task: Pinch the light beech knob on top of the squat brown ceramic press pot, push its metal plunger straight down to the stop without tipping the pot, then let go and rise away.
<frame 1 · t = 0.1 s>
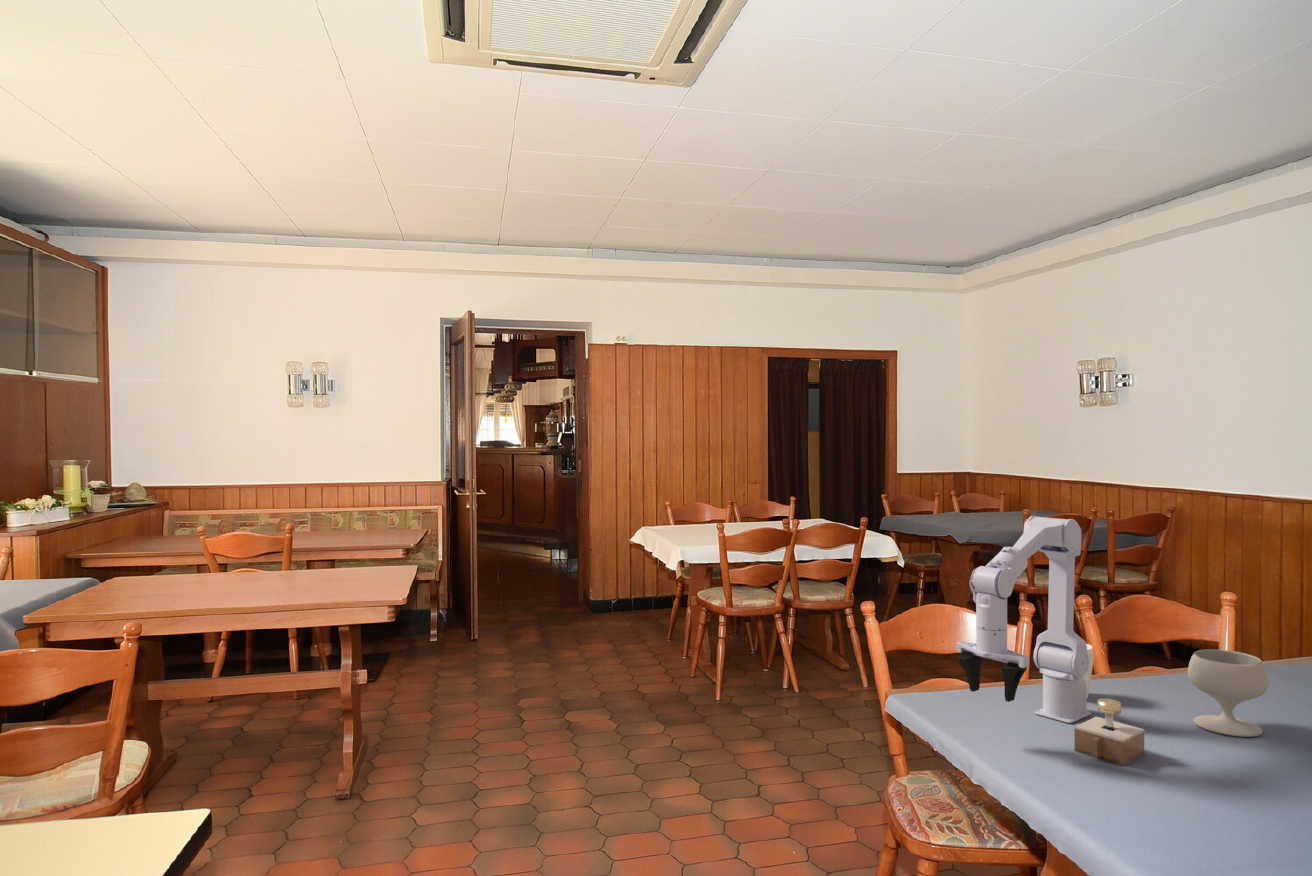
hand: (991, 695, 163), 10 cm above the table, tool pointing down, fingers open, 7 cm apart
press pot: (1109, 752, 160), on the table
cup: (1072, 696, 193), on the table
plunger: (1109, 718, 160), point 7 cm above the table, slide at 0.0 cm
chalice: (1227, 728, 172), on the table
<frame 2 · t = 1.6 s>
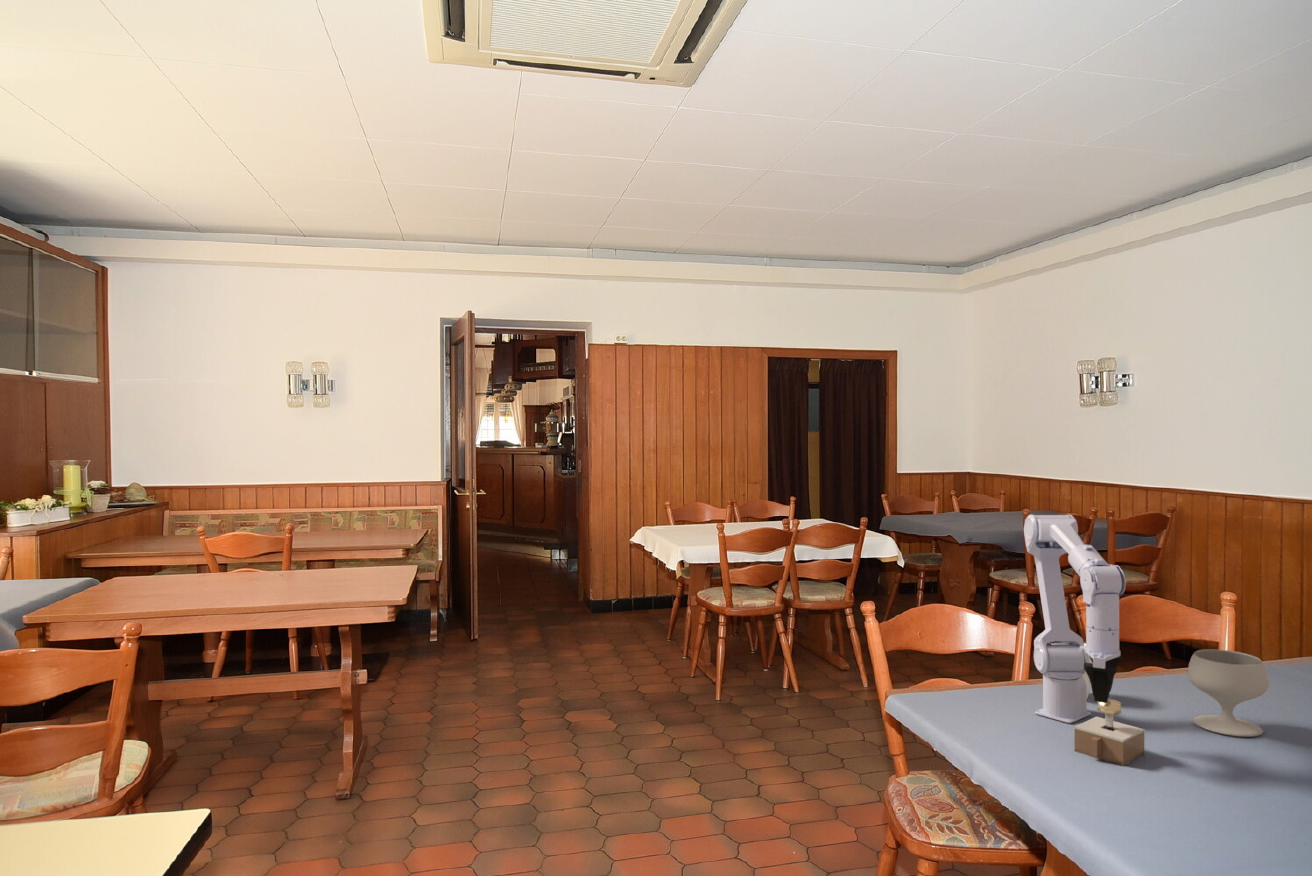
hand: (1102, 696, 161), 10 cm above the table, tool pointing down, fingers open, 7 cm apart
nothing on the table moved.
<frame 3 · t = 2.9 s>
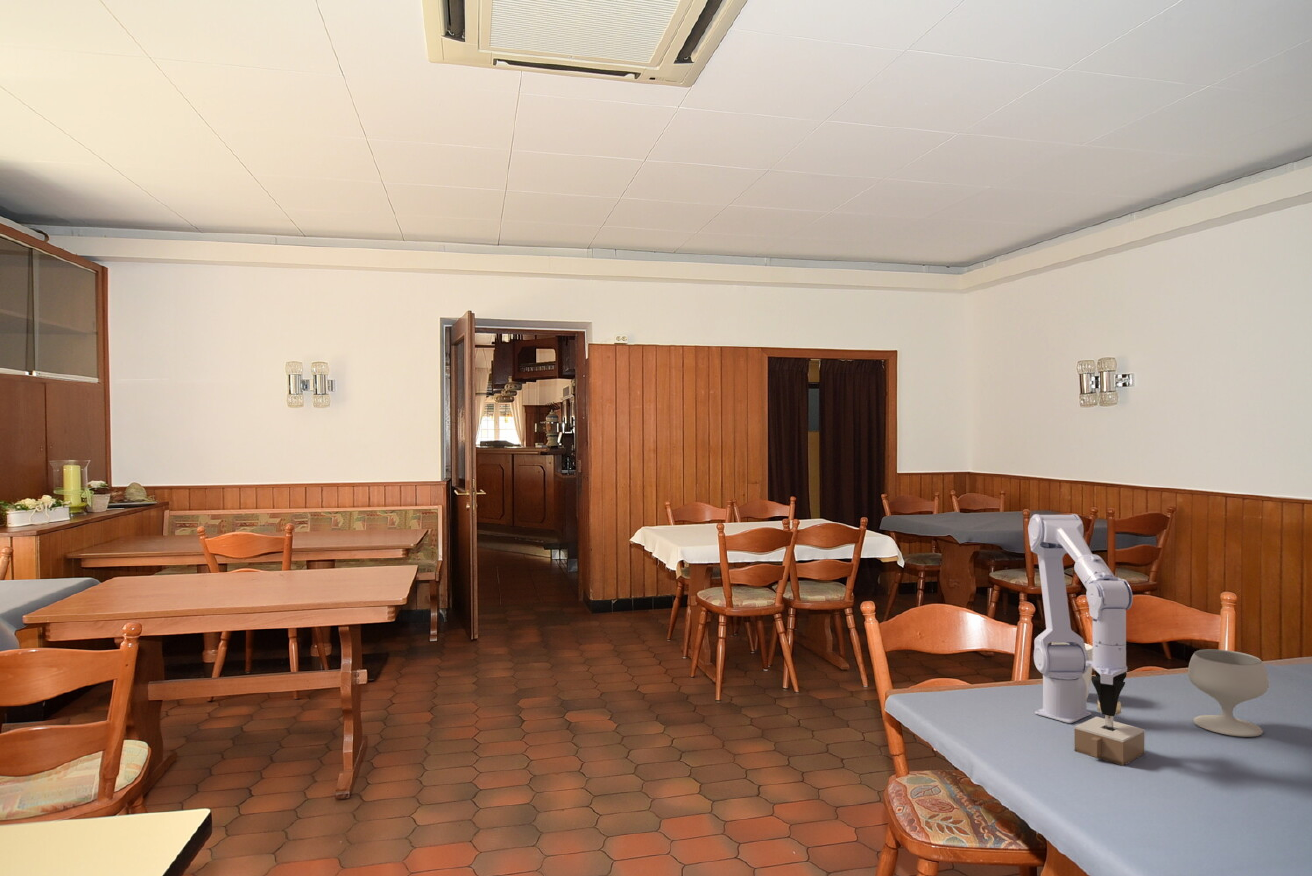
hand: (1109, 711, 160), 8 cm above the table, tool pointing down, fingers closed on plunger, 4 cm apart
plunger: (1109, 718, 160), point 7 cm above the table, slide at 0.0 cm, touching gripper
everything else where it was.
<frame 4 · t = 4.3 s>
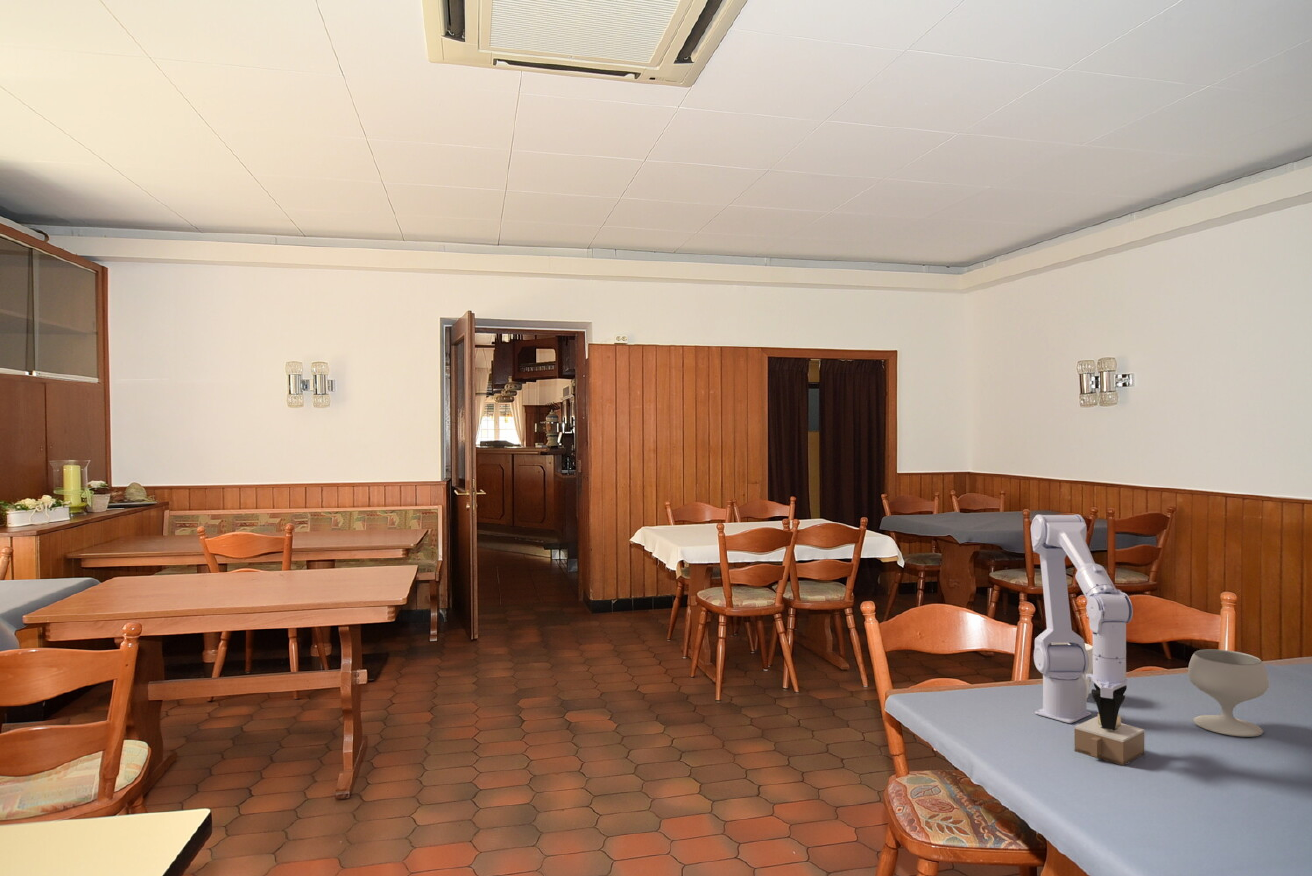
hand: (1109, 724, 160), 5 cm above the table, tool pointing down, fingers closed on plunger, 4 cm apart
plunger: (1109, 731, 160), point 4 cm above the table, slide at 2.6 cm, touching gripper
everything else where it was.
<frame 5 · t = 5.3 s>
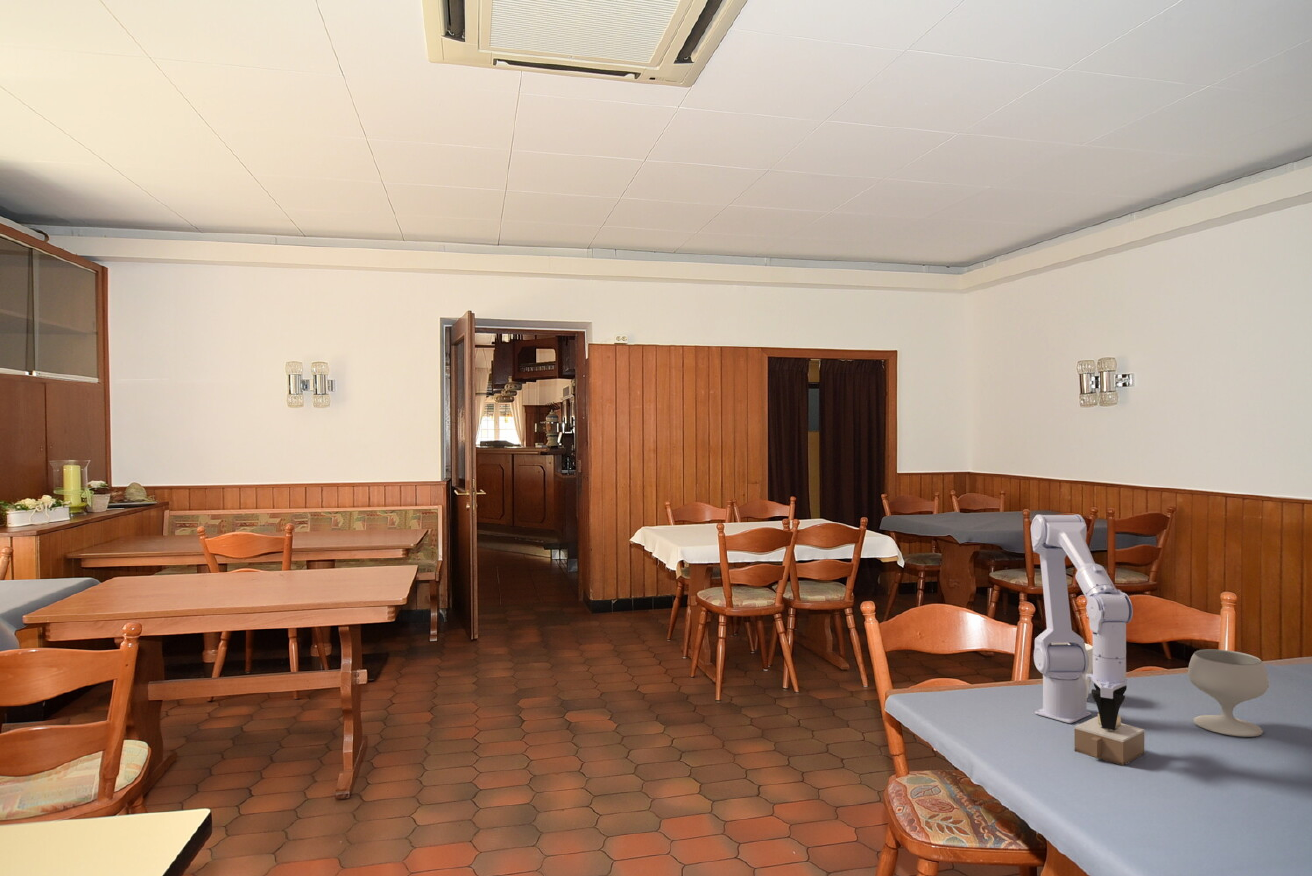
hand: (1109, 724, 160), 5 cm above the table, tool pointing down, fingers closed on plunger, 4 cm apart
plunger: (1109, 731, 160), point 4 cm above the table, slide at 2.6 cm, touching gripper
everything else where it was.
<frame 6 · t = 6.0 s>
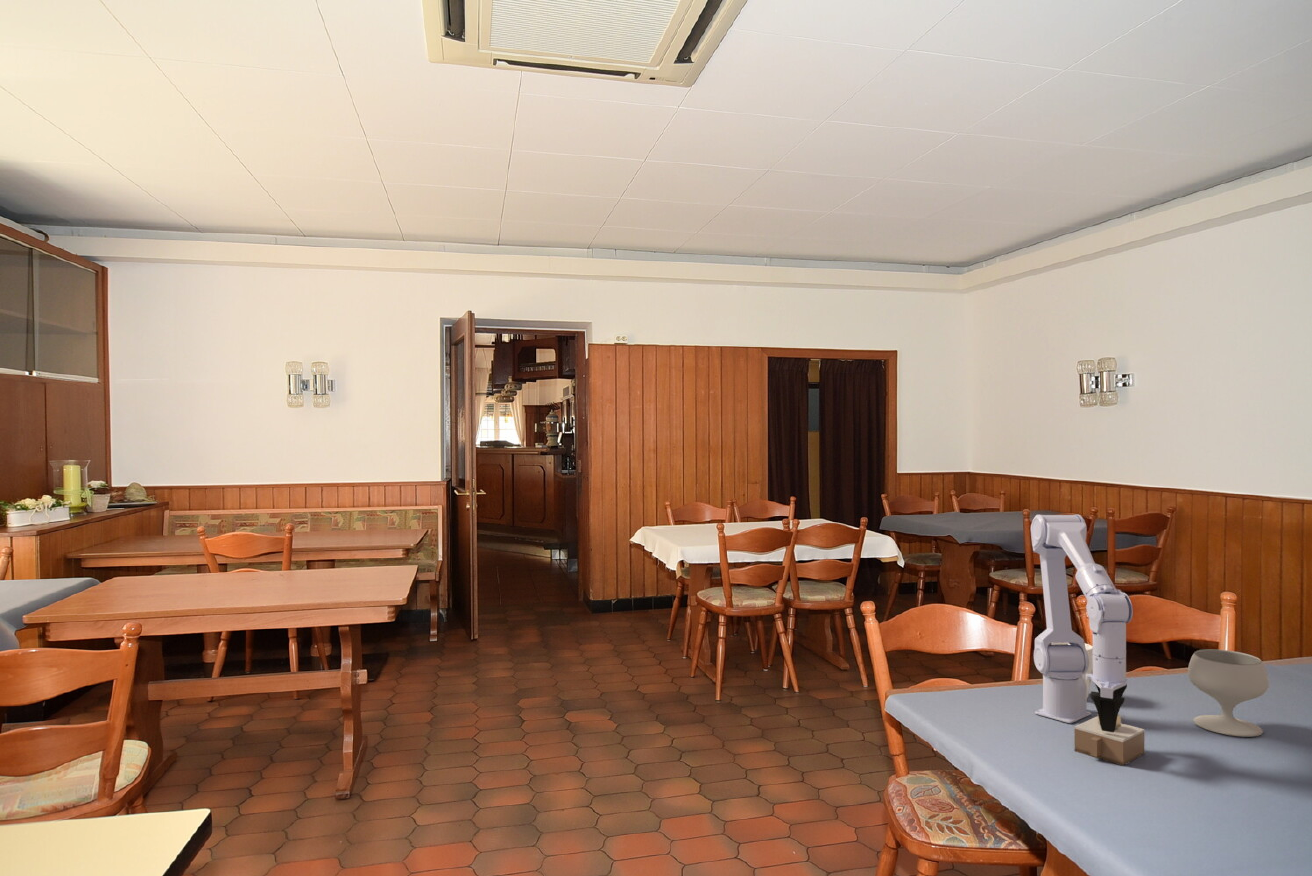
hand: (1109, 724, 160), 5 cm above the table, tool pointing down, fingers open, 7 cm apart
plunger: (1109, 731, 160), point 4 cm above the table, slide at 2.6 cm
everything else where it was.
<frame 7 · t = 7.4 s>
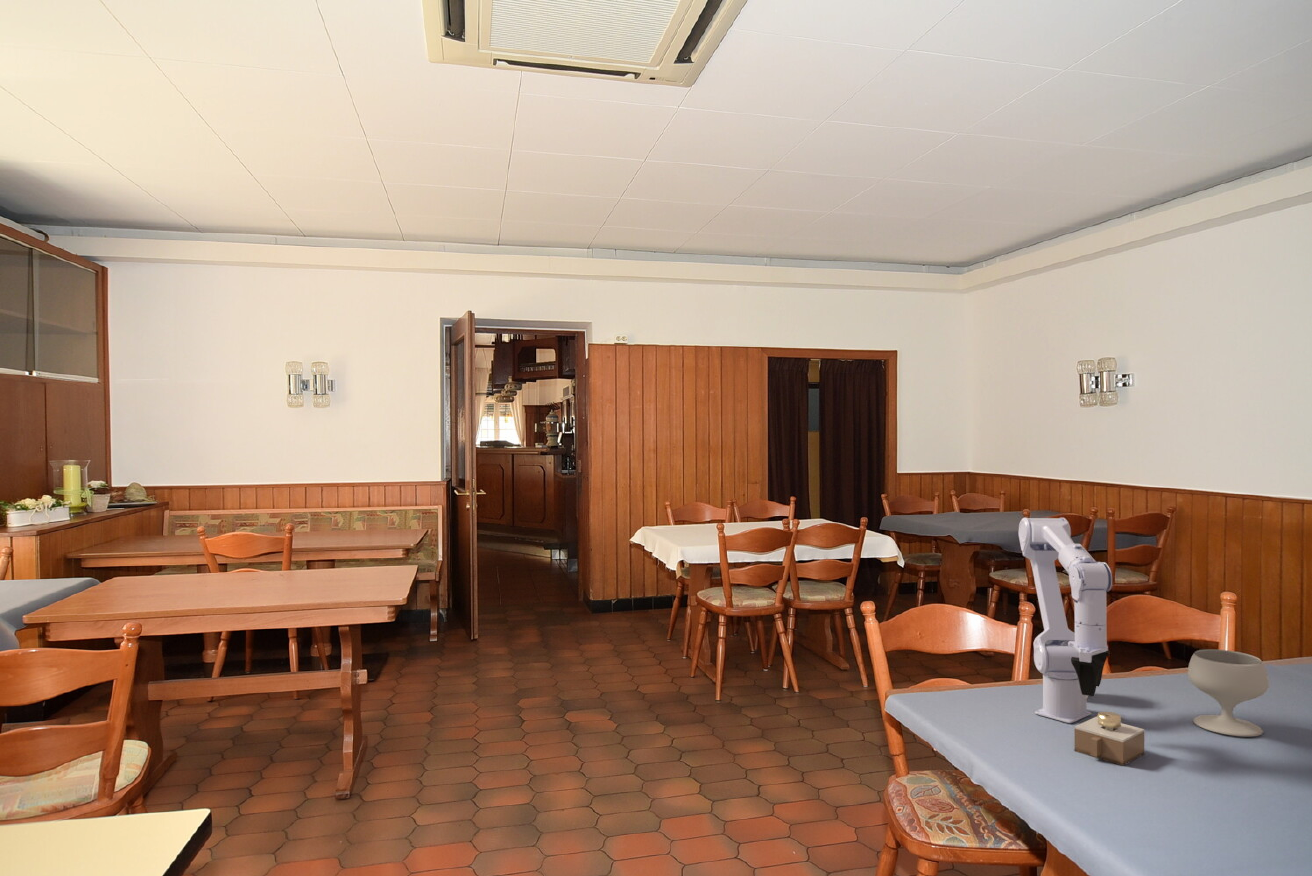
hand: (1090, 690, 165), 10 cm above the table, tool pointing down, fingers open, 7 cm apart
nothing on the table moved.
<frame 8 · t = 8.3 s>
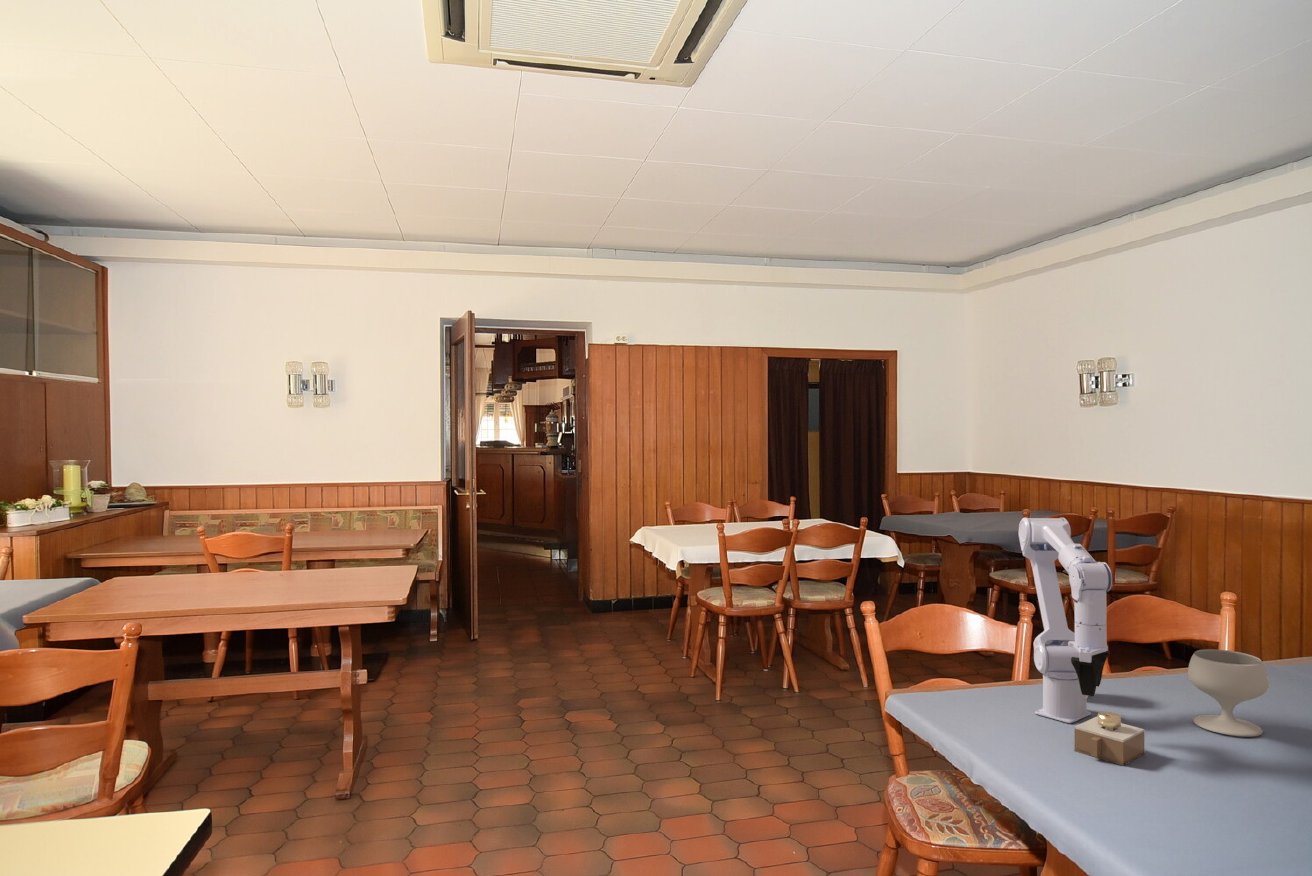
hand: (1090, 690, 165), 10 cm above the table, tool pointing down, fingers open, 7 cm apart
nothing on the table moved.
at the end: plunger slide at 2.6 cm; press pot tilted 0°; the gripper is holding nothing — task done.
